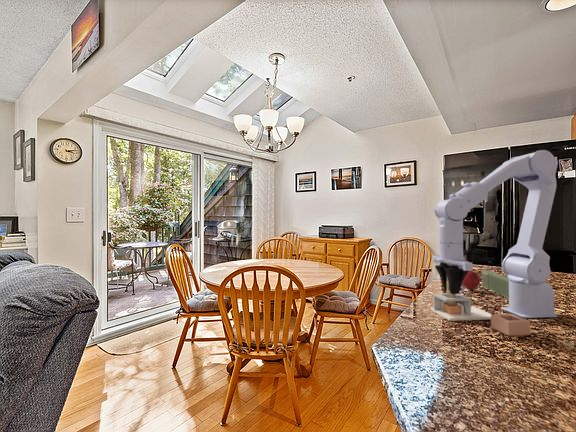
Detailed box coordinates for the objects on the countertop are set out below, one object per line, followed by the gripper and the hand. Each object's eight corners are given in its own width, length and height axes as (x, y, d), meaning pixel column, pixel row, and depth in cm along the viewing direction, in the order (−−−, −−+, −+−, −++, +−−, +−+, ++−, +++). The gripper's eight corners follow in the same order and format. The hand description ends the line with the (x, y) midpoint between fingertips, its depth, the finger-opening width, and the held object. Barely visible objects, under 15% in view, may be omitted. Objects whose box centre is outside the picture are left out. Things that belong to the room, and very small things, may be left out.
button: (453, 310, 82) (453, 303, 82) (459, 313, 79) (459, 306, 79) (443, 310, 82) (443, 303, 82) (449, 313, 79) (449, 306, 79)
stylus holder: (511, 326, 72) (511, 313, 72) (530, 334, 66) (530, 321, 66) (491, 326, 71) (491, 314, 71) (508, 335, 66) (508, 322, 66)
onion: (483, 292, 103) (483, 269, 103) (467, 292, 103) (466, 269, 103) (473, 288, 109) (473, 266, 109) (457, 288, 109) (457, 266, 109)
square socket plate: (473, 308, 85) (473, 290, 86) (497, 319, 77) (497, 299, 77) (430, 309, 85) (430, 292, 85) (449, 320, 76) (449, 301, 76)
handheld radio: (490, 287, 111) (532, 307, 87) (481, 287, 112) (519, 307, 88) (489, 269, 112) (530, 284, 87) (480, 269, 112) (518, 284, 88)
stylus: (452, 303, 82) (452, 272, 82) (458, 305, 79) (457, 274, 79) (444, 303, 81) (444, 273, 81) (449, 306, 79) (449, 274, 79)
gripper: (423, 240, 87) (423, 286, 87) (453, 245, 73) (454, 300, 73) (445, 240, 88) (446, 285, 88) (480, 245, 73) (481, 299, 73)
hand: (451, 292), depth 80 cm, fingers closed on stylus, 2 cm apart
